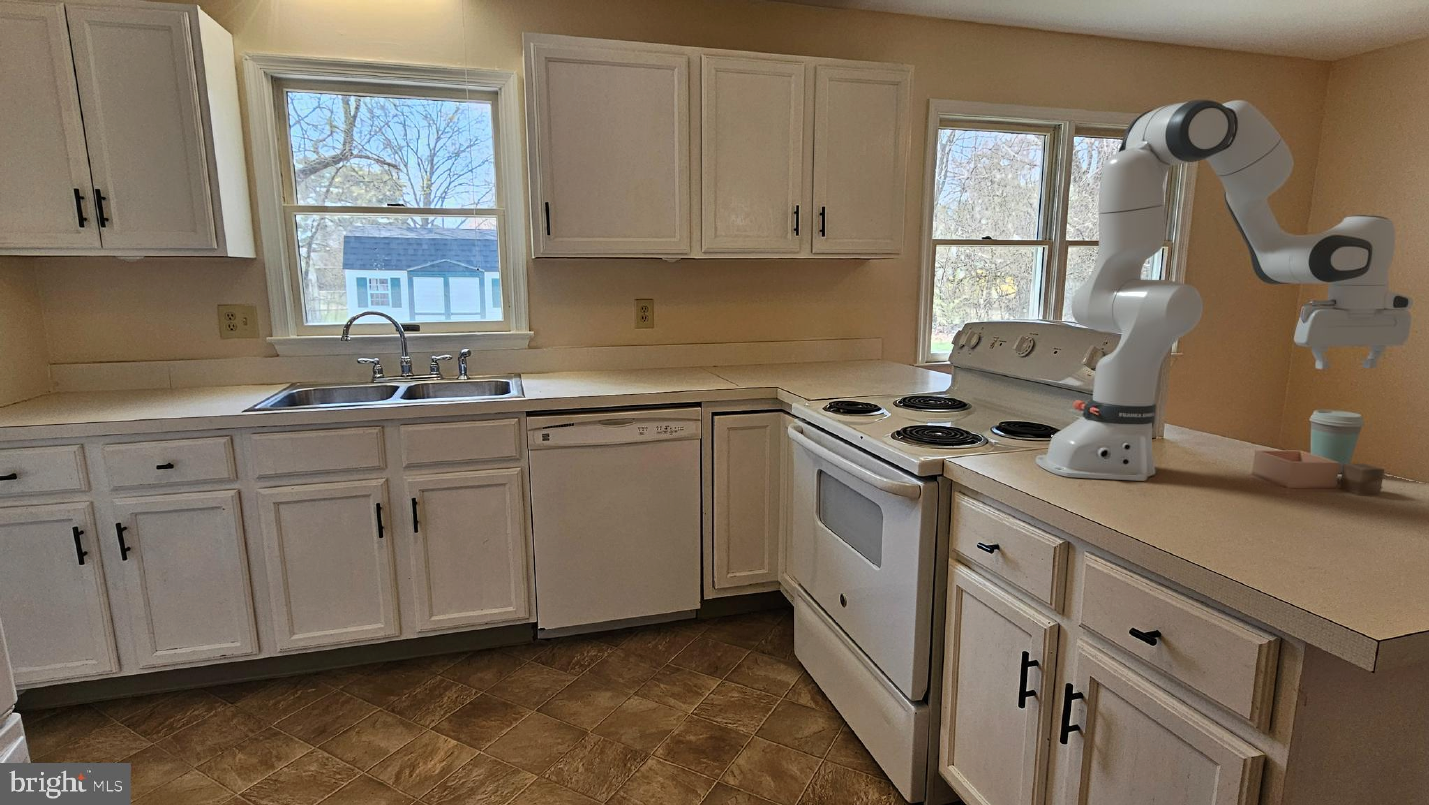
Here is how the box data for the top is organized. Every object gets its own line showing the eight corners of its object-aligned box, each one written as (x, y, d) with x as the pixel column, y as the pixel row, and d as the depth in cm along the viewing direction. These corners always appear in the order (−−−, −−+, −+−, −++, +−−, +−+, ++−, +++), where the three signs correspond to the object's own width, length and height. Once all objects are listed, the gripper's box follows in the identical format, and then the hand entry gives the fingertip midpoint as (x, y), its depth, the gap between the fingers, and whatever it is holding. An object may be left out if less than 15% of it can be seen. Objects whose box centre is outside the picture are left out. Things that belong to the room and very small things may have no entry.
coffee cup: (1335, 464, 153) (1344, 409, 150) (1366, 476, 144) (1377, 417, 142) (1292, 463, 153) (1300, 408, 151) (1321, 474, 145) (1330, 416, 143)
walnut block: (1358, 495, 132) (1362, 469, 131) (1339, 488, 136) (1343, 463, 135) (1379, 495, 132) (1384, 469, 131) (1360, 488, 136) (1364, 463, 135)
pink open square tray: (1287, 487, 136) (1291, 462, 135) (1251, 474, 145) (1255, 450, 144) (1335, 487, 136) (1339, 462, 135) (1296, 474, 145) (1300, 450, 144)
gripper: (1316, 301, 139) (1306, 371, 142) (1422, 299, 139) (1410, 369, 142) (1291, 299, 145) (1281, 366, 148) (1392, 297, 145) (1381, 365, 148)
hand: (1345, 368), depth 145 cm, fingers open, 8 cm apart
